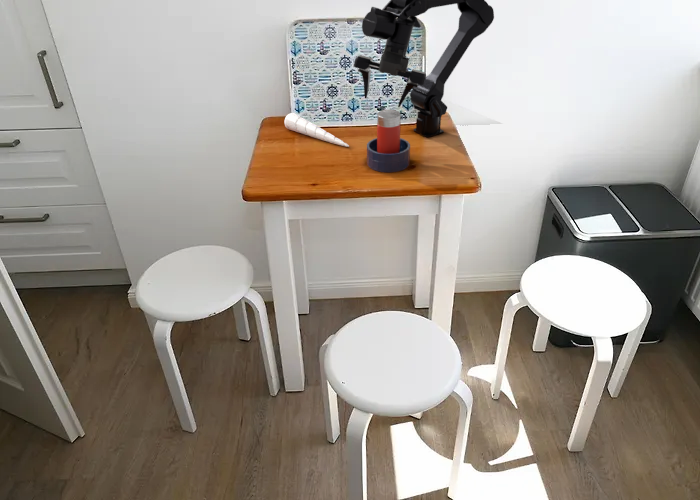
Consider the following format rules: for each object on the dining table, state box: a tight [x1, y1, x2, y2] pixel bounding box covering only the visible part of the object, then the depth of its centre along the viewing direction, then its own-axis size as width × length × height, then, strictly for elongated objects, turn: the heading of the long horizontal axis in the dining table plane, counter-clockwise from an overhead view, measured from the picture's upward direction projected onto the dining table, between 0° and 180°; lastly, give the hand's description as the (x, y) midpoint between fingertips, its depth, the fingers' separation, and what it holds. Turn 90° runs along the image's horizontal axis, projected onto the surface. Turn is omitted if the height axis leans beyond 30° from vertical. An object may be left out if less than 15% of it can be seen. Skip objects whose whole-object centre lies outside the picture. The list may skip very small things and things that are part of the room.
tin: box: [376, 109, 402, 154], centre depth 148 cm, size 6×6×13 cm
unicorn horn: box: [284, 112, 350, 148], centre depth 165 cm, size 5×24×5 cm, turn 46°
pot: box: [366, 137, 411, 173], centre depth 151 cm, size 11×11×5 cm
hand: (382, 102), depth 154 cm, fingers open, 9 cm apart
